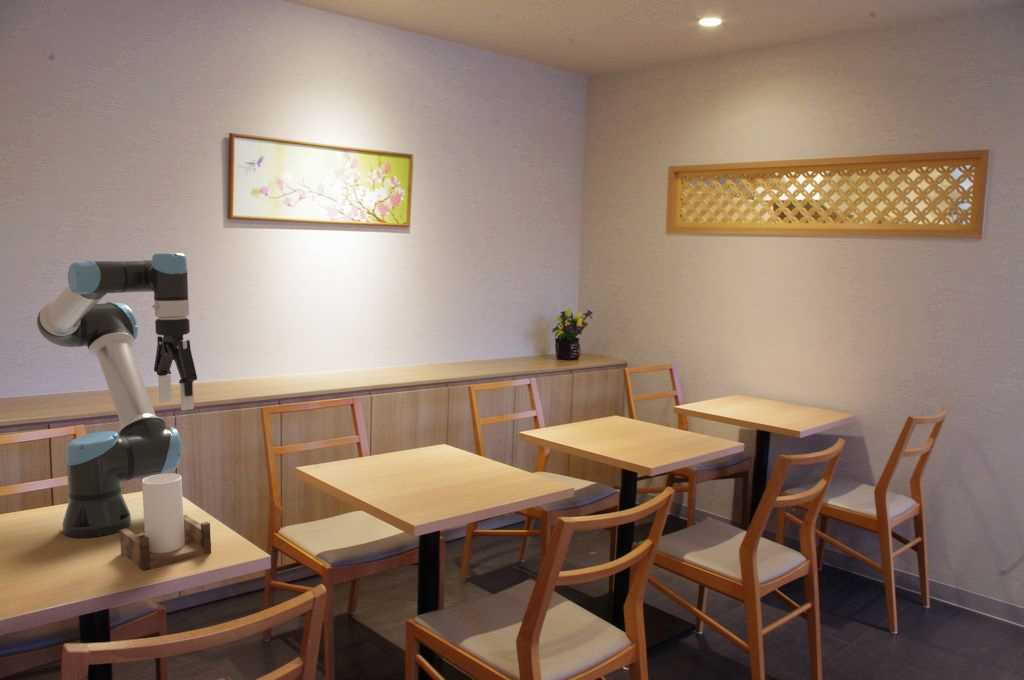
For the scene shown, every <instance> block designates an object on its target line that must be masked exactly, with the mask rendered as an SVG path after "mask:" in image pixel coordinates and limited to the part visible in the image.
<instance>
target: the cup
mask: <svg viewBox="0 0 1024 680" xmlns="http://www.w3.org/2000/svg"><path fill="white" fill-rule="evenodd" d="M182 479H183V478H182V476H181V475H180V474H178V473H171V472H168V473H163V474H157V475H152V476H149V477H144V478H142V479H141V480H142V482H141V486H142V488H141V489H142V504H143V507H142V508H143V523H144V533H145V536H147V537H148V538H149V551H150V552H151V553H165V552H171V551H174V550H177V549H180V548H181V547H183V546H184V545H185V538H184V517H183V515H184V503H183V502H184V501H183V500H184V499H183V498H184V497H183V481H182Z"/></svg>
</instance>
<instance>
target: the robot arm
mask: <svg viewBox="0 0 1024 680" xmlns="http://www.w3.org/2000/svg"><path fill="white" fill-rule="evenodd" d="M151 258H152V259H149V260H147V259H146V260H125V261H124V260H123V261H122V260H120V261H118V260H117V261H116V260H114V261H112V260H108V261H107V260H106V261H102V260H101V261H100V260H99V261H98V260H94V261H93V260H85V261H75V262H74V261H73V262H72V263H71V264H70V266H69V267H68V271H67V283H68V285H67V286H66V287H65V288H64V289H63V291H62V292H61V293H60V294H59V295H58V296H57V297H56V298H55V300H54V301H50V302H48V303H46V304H45V305H44V306H42V308H41V309H40V311H39V312H38V314H37V317H36V326H37V329H38V331H39V333H40V334H41V335H42V337H44V339H46V340H47V341H48V342H50V343H52V344H54V345H57V346H60V347H64V348H78V347H80V348H81V347H87V349H88V351H89V354H90V355H91V356H92V357H94V358H98V361H99V364H100V367H101V371H102V373H103V375H104V379H105V382H106V385H107V387H108V388H107V389H108V391H109V393H110V396H111V397H110V398H111V399H112V402H113V404H114V405H113V406H114V408H115V411H116V413H117V416H118V420H119V423H120V425H121V428H120V430H119V431H118V432H117V431H114V430H104V431H97V432H92V433H87V434H83V435H81V436H78V437H77V438H74V439H72V440H71V441H70V442H69V443H68V444H67V446H66V455H65V456H66V457H65V458H66V459H65V464H66V470H67V471H66V472H67V485H68V502H67V503H68V505H67V507H66V511H65V515H64V517H63V522H62V533H63V534H64V535H65V536H68V537H71V538H93V537H94V538H95V537H102V536H106V535H111V534H114V533H117V532H120V530H122V529H126V528H128V527H129V526H130V525H131V523H132V518H131V512H130V510H129V507H128V505H127V503H126V501H125V498H124V496H123V492H122V483H123V482H128V481H132V480H137V479H144V478H146V477H149V476H152V475H157V474H168V473H171V472H173V471H175V470H176V469H177V467H178V466H179V464H180V461H181V457H182V441H181V440H182V439H181V434H180V433H179V430H178V429H177V428H176V427H173V426H169V427H168V426H167V424H166V422H165V419H164V418H162V417H160V416H157V415H156V412H155V410H154V407H153V406H154V405H153V404H152V402H151V399H150V396H149V393H148V391H147V388H146V386H145V383H144V380H143V377H142V374H141V371H140V369H139V366H138V364H137V361H136V358H135V355H134V352H133V350H132V348H133V346H134V345H135V341H136V339H137V337H138V334H139V329H138V325H137V322H138V321H137V318H136V316H135V314H134V312H133V310H132V309H131V307H130V306H129V305H127V304H125V303H121V302H112V301H111V302H110V301H109V302H104V303H99V302H100V300H101V299H102V298H104V297H105V296H106V295H107V294H118V293H119V294H120V293H144V292H145V293H147V292H152V293H153V300H154V301H153V302H154V304H153V305H152V309H154V316H155V317H156V318H157V319H156V320H154V323H155V334H156V335H158V336H157V338H156V341H157V344H156V354H155V361H154V366H153V371H154V372H155V373H156V375H157V379H158V397H159V401H158V402H159V403H165V402H167V403H168V402H173V401H172V399H173V398H172V378H171V375H172V374H173V373H172V371H171V368H172V363H173V361H174V363H175V365H176V369H177V371H178V375H179V377H180V379H179V381H178V383H179V390H180V410H181V411H189V410H194V409H195V403H194V402H195V401H194V382H195V381H197V380H198V375H197V371H196V367H195V362H194V358H193V354H192V353H193V352H192V350H191V342H190V341H191V340H190V339H184V335H188V334H190V330H191V329H190V319H189V318H187V317H189V316H190V299H189V284H188V283H189V282H188V271H189V270H188V269H189V268H188V264H187V257H186V255H185V254H184V253H182V252H180V253H179V252H176V253H175V252H155V253H154V254H153V255H152V257H151Z"/></svg>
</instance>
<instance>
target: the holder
mask: <svg viewBox="0 0 1024 680" xmlns="http://www.w3.org/2000/svg"><path fill="white" fill-rule="evenodd" d="M183 517H184V538H185V545H184V546H183V547H181V548H180V549H177V550H174V551H171V552H165V553H151V552H150V551H149V538H148V537H147V536H145V532H143V533H137V534H135V533H134V532H133V531H131V530H130V529H128V527H126V528H125V529H122V530H120V531H119V537H120V553H121V555H123V557H126V559H128V560H129V561H130V562H132V563H133V565H135V566H137V567H138V569H140V570H141V571H142V572H144V571H149V570H152V569H155V568H160V567H164V566H167V565H172V564H174V563H179V562H182V561H185V560H190V559H194V558H197V557H201V556H205V555H208V554H211V553H212V539H211V523H210V522H208V521H205V522H202V523H200V522H199V521H197V520H195V519H194V518H192V517H190V516H189V515H186V514H183Z"/></svg>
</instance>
